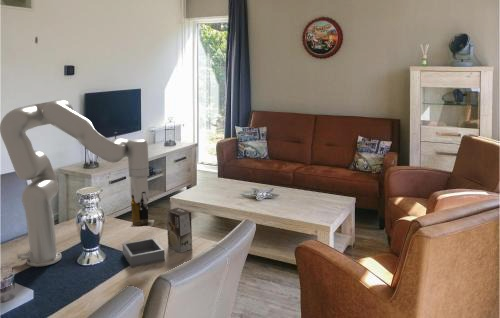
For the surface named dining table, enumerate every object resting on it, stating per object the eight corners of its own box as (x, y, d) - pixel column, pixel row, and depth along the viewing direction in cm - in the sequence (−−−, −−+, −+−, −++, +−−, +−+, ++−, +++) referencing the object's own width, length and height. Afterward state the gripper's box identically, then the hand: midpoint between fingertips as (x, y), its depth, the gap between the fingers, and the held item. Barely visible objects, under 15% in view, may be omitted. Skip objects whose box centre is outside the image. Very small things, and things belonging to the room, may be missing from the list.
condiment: (132, 221, 183) (131, 191, 181) (154, 220, 184) (152, 191, 182) (130, 227, 176) (128, 197, 174) (152, 226, 177) (151, 196, 174)
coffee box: (193, 248, 192) (192, 212, 188) (181, 253, 187) (179, 215, 184) (179, 242, 198) (178, 207, 194) (167, 247, 193) (165, 210, 190)
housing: (131, 267, 174) (131, 256, 174) (123, 254, 187) (122, 243, 186) (164, 260, 180) (164, 249, 179) (154, 247, 193) (153, 237, 192)
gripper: (123, 168, 182) (126, 211, 186) (135, 178, 167) (137, 225, 171) (142, 166, 185) (145, 208, 189) (155, 175, 170) (157, 221, 174)
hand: (141, 216), depth 180 cm, fingers closed on condiment, 6 cm apart
